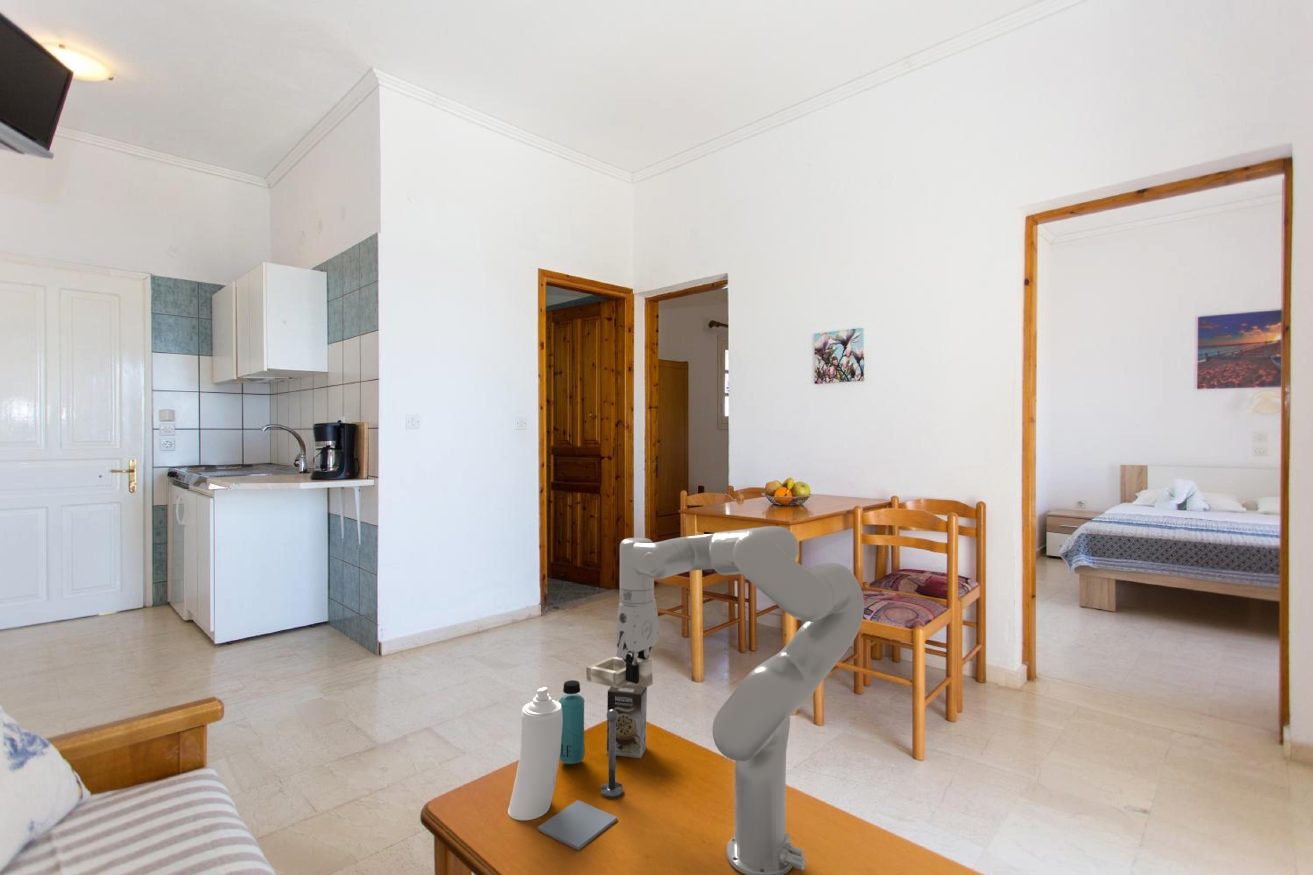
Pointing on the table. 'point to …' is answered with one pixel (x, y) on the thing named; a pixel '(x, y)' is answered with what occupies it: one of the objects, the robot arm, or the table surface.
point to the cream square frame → (618, 672)
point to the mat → (577, 824)
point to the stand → (612, 760)
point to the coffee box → (629, 719)
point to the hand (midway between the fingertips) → (636, 678)
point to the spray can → (537, 757)
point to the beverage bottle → (572, 724)
